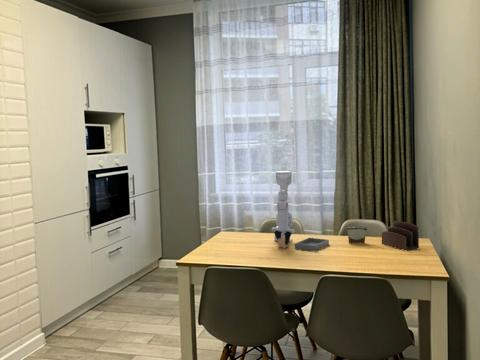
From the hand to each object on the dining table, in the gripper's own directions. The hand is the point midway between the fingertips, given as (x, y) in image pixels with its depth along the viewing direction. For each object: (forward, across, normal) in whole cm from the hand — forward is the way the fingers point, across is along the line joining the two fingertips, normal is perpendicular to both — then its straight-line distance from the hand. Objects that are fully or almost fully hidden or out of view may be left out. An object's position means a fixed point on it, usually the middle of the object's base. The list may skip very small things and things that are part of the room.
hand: (283, 243), depth 263 cm
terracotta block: (+2, 0, 0) cm, 2 cm away
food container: (+2, +32, +34) cm, 47 cm away
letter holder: (+2, +58, +36) cm, 68 cm away
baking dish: (+2, +14, +10) cm, 17 cm away
